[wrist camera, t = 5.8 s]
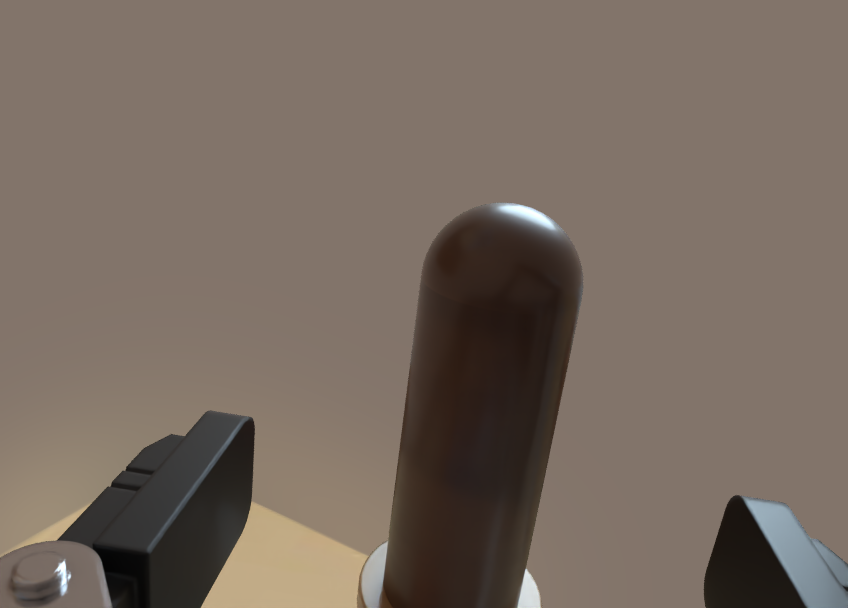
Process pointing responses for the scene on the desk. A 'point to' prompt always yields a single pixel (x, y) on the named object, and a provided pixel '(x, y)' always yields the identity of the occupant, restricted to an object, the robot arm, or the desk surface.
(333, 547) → the desk surface
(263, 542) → the desk surface
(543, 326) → the stopper
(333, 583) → the desk surface
